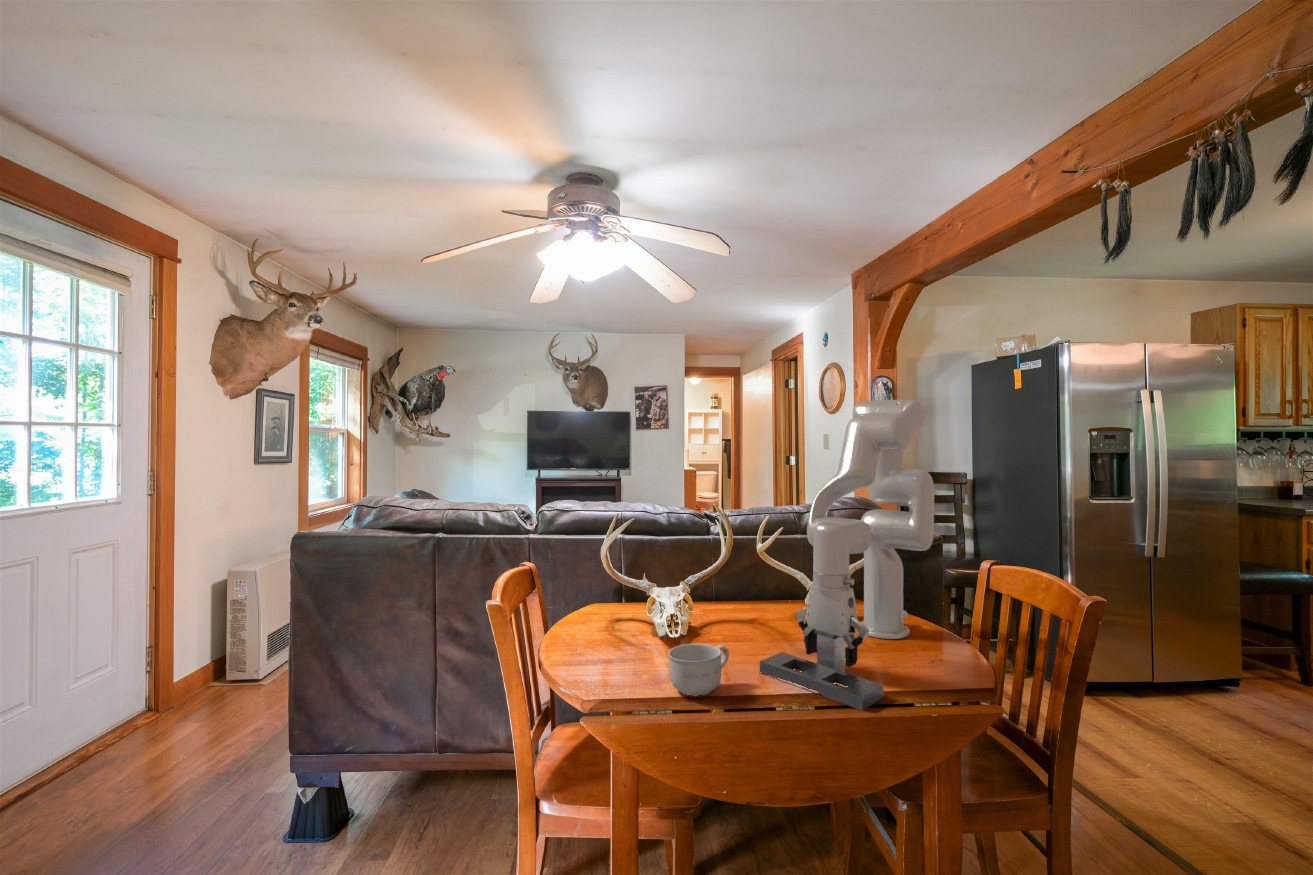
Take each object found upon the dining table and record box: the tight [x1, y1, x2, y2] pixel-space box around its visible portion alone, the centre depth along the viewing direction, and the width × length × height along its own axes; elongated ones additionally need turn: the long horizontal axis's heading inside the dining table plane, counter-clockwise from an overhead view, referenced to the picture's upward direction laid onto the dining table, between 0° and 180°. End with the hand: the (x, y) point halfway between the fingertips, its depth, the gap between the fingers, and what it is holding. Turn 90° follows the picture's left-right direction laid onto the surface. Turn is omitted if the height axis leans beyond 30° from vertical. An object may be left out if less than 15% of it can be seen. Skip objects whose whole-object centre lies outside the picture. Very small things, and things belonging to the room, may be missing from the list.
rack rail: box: [759, 651, 884, 711], centre depth 125 cm, size 24×8×2 cm, turn 42°
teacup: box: [667, 643, 730, 696], centre depth 123 cm, size 14×11×8 cm
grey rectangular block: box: [816, 633, 846, 672], centre depth 132 cm, size 4×4×9 cm
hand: (830, 658), depth 131 cm, fingers open, 9 cm apart
